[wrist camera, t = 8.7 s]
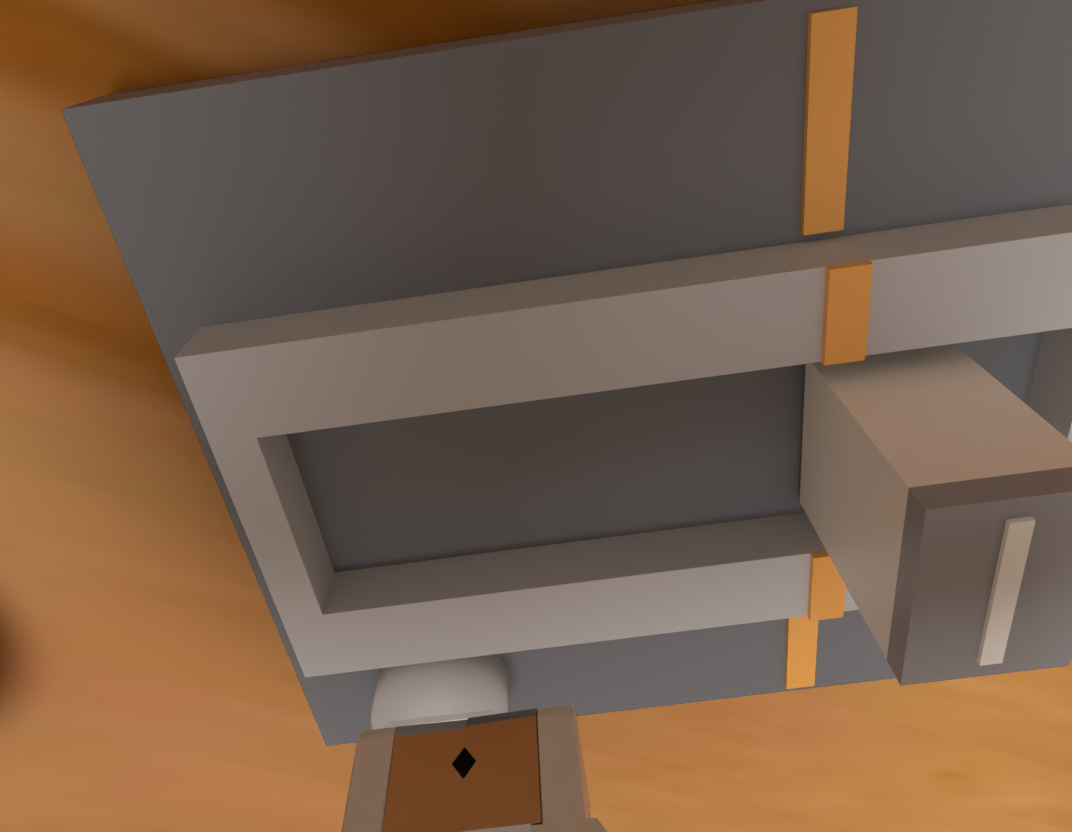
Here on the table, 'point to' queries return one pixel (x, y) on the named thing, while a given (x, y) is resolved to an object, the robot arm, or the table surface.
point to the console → (584, 326)
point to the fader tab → (941, 512)
